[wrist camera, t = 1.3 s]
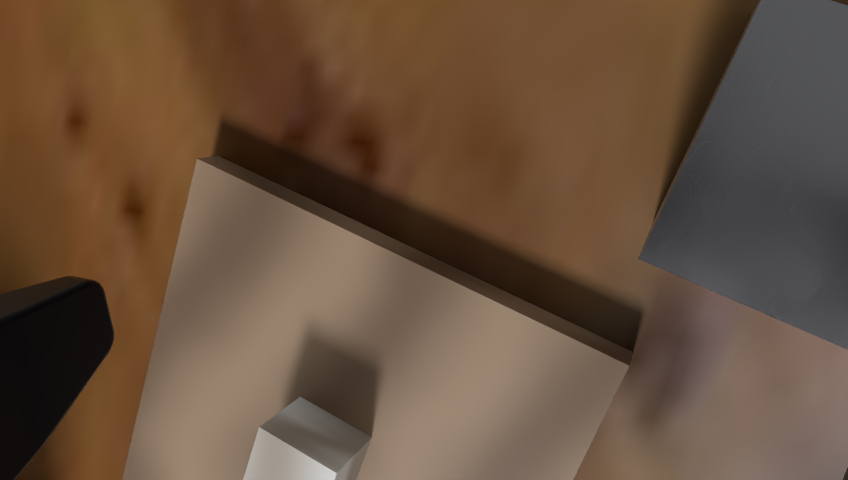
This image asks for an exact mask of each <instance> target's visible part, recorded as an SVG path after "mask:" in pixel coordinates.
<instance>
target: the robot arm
mask: <svg viewBox="0 0 848 480" xmlns="http://www.w3.org/2000/svg"><path fill="white" fill-rule="evenodd" d="M113 341H114V329H113V325H112V321H111V317H110V312H109V308H108V304H107V300H106V296H105V292H104V289H103V287H102V286H101V285H100V283H98V282H96V281H94V280H90V279H85V278H80V277H75V276H66V277H62V278H58V279H55V280H51V281H47V282H43V283H40V284H36V285H32V286H29V287H25V288H21V289H18V290H14V291H10V292H7V293H3V294H0V480H15V479H16V478H17V477H18V475H19V474H20V473H21V472H22V471H23V469H24V468H25V467H26V466H27V465H28V463H29V462H30V461H31V460H32V459H33V457H34V456H35V455H36V454H37V452H38V451H39V450H40V449H41V447H42V446H43V445H44V444H45V442H46V441H47V440H48V438H49V437H50V436H51V434H52V433H53V431H54V430H55V429H56V427H57V426H58V424H59V423H60V422H61V420H62V419H63V417H64V416H65V414H66V413H67V412H68V410H69V409H70V407H71V406H72V404H73V403H74V402H75V400H76V399H77V397H78V396H79V394H80V393H81V391H82V390H83V389H84V387H85V386H86V384H87V383H88V381H89V380H90V379H91V377H92V376H93V374H94V373H95V371H96V370H97V369H98V367H99V366H100V364H101V363H102V361H103V360H104V359H105V357H106V356H107V354H108V353H109V351H110V349H111V347H112V345H113ZM843 480H848V468H847V471H846V473H845V476H844V478H843Z"/></svg>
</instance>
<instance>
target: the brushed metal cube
mask: <svg viewBox="0 0 848 480" xmlns="http://www.w3.org/2000/svg"><path fill="white" fill-rule="evenodd" d="M639 259H640V260H642V261H645V262H647V263H649V264H652V265H654V266H656V267H659V268H661V269H663V270H665V271H668V272H670V273H672V274H675V275H677V276H679V277H682V278H684V279H686V280H688V281H691V282H693V283H695V284H698V285H700V286H702V287H705V288H707V289H709V290H712V291H714V292H716V293H718V294H721V295H723V296H725V297H728V298H730V299H732V300H735V301H737V302H739V303H741V304H744V305H746V306H748V307H751V308H753V309H755V310H758V311H760V312H762V313H765V314H767V315H769V316H771V317H774V318H776V319H778V320H781V321H783V322H785V323H788V324H790V325H792V326H794V327H797V328H799V329H801V330H804V331H806V332H808V333H811V334H813V335H815V336H818V337H820V338H822V339H824V340H827V341H829V342H831V343H834V344H836V345H838V346H841V347H843V348H845V349H848V5H845V4H841V3H838V2H835V1H831V0H759V1H758V3H757V4H756V6H755V8H754V10H753V11H752V13H751V16H750V18H749V20H748V22H747V24H746V26H745V28H744V30H743V33H742V35H741V37H740V39H739V41H738V43H737V45H736V47H735V50H734V52H733V54H732V56H731V58H730V60H729V62H728V64H727V66H726V69H725V71H724V73H723V75H722V77H721V79H720V81H719V83H718V86H717V88H716V90H715V92H714V94H713V96H712V98H711V100H710V103H709V105H708V107H707V109H706V111H705V113H704V115H703V117H702V119H701V122H700V124H699V126H698V128H697V130H696V132H695V134H694V136H693V139H692V141H691V143H690V145H689V147H688V149H687V151H686V153H685V156H684V158H683V160H682V162H681V164H680V166H679V168H678V170H677V173H676V175H675V177H674V179H673V181H672V183H671V185H670V187H669V189H668V192H667V194H666V196H665V198H664V200H663V202H662V204H661V206H660V209H659V211H658V213H657V215H656V217H655V219H654V221H653V224H652V226H651V229H650V231H649V234H648V236H647V239H646V241H645V244H644V246H643V249H642V251H641V254H640V256H639Z"/></svg>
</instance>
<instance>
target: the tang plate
mask: <svg viewBox="0 0 848 480" xmlns="http://www.w3.org/2000/svg"><path fill="white" fill-rule="evenodd" d="M632 355H633V352H632V351H630V350H628V349H626V348H624V347H622V346H620V345H617V344H615V343H613V342H611V341H609V340H607V339H605V338H603V337H601V336H598V335H596V334H594V333H592V332H590V331H588V330H586V329H584V328H581V327H579V326H577V325H575V324H573V323H571V322H569V321H567V320H565V319H562V318H560V317H558V316H556V315H554V314H552V313H550V312H548V311H546V310H543V309H541V308H539V307H537V306H535V305H533V304H531V303H529V302H527V301H524V300H522V299H520V298H518V297H516V296H514V295H512V294H510V293H507V292H505V291H503V290H501V289H499V288H497V287H495V286H493V285H491V284H488V283H486V282H484V281H482V280H480V279H478V278H476V277H474V276H472V275H469V274H467V273H465V272H463V271H461V270H459V269H457V268H455V267H453V266H450V265H448V264H446V263H444V262H442V261H440V260H438V259H436V258H433V257H431V256H429V255H427V254H425V253H423V252H421V251H419V250H417V249H414V248H412V247H410V246H408V245H406V244H404V243H402V242H400V241H398V240H395V239H393V238H391V237H389V236H387V235H385V234H383V233H381V232H379V231H376V230H374V229H372V228H370V227H368V226H366V225H364V224H362V223H360V222H357V221H355V220H353V219H351V218H349V217H347V216H345V215H343V214H340V213H338V212H336V211H334V210H332V209H330V208H328V207H326V206H324V205H321V204H319V203H317V202H315V201H313V200H311V199H309V198H307V197H305V196H302V195H300V194H298V193H296V192H294V191H292V190H290V189H288V188H286V187H283V186H281V185H279V184H277V183H275V182H273V181H271V180H269V179H266V178H264V177H262V176H260V175H258V174H256V173H254V172H252V171H250V170H247V169H245V168H243V167H241V166H239V165H237V164H235V163H233V162H231V161H228V160H226V159H224V158H222V157H220V156H214V157H206V158H198V159H197V161H196V165H195V170H194V174H193V178H192V182H191V187H190V191H189V195H188V200H187V204H186V208H185V212H184V217H183V221H182V225H181V230H180V234H179V238H178V242H177V247H176V251H175V255H174V259H173V264H172V268H171V272H170V277H169V281H168V285H167V289H166V294H165V298H164V302H163V307H162V311H161V315H160V319H159V324H158V328H157V332H156V337H155V341H154V345H153V349H152V354H151V358H150V362H149V366H148V371H147V375H146V379H145V384H144V388H143V392H142V396H141V401H140V405H139V409H138V414H137V418H136V422H135V426H134V431H133V435H132V439H131V444H130V448H129V452H128V456H127V461H126V465H125V469H124V473H123V478H122V480H573V479H574V477H575V475H576V473H577V471H578V469H579V467H580V465H581V463H582V461H583V459H584V457H585V455H586V453H587V451H588V449H589V447H590V445H591V443H592V440H593V438H594V436H595V434H596V432H597V430H598V428H599V426H600V424H601V422H602V420H603V418H604V416H605V414H606V412H607V410H608V408H609V406H610V404H611V402H612V400H613V398H614V396H615V394H616V392H617V390H618V388H619V386H620V384H621V382H622V380H623V378H624V376H625V374H626V372H627V370H628V368H629V366H630V362H631V358H632Z"/></svg>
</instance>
